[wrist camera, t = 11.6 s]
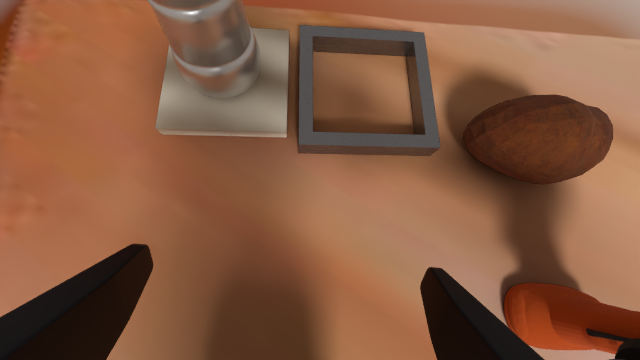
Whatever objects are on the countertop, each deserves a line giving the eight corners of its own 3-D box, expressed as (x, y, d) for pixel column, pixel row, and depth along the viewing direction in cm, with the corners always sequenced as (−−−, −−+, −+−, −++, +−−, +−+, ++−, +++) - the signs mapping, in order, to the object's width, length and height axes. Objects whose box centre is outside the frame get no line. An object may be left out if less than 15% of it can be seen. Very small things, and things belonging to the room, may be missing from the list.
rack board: (286, 137, 24) (286, 131, 23) (162, 134, 23) (155, 128, 22) (289, 39, 27) (289, 30, 26) (178, 33, 26) (172, 23, 25)
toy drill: (375, 271, 20) (632, 317, 6) (570, 284, 24) (1019, 332, 10) (375, 343, 19) (698, 602, 5) (581, 345, 23) (1120, 504, 8)
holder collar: (429, 155, 25) (440, 147, 23) (298, 153, 24) (298, 144, 22) (415, 47, 28) (424, 32, 27) (299, 40, 27) (300, 24, 25)
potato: (569, 193, 25) (687, 168, 18) (456, 195, 24) (528, 169, 17) (549, 121, 27) (646, 71, 20) (443, 120, 26) (503, 66, 19)
